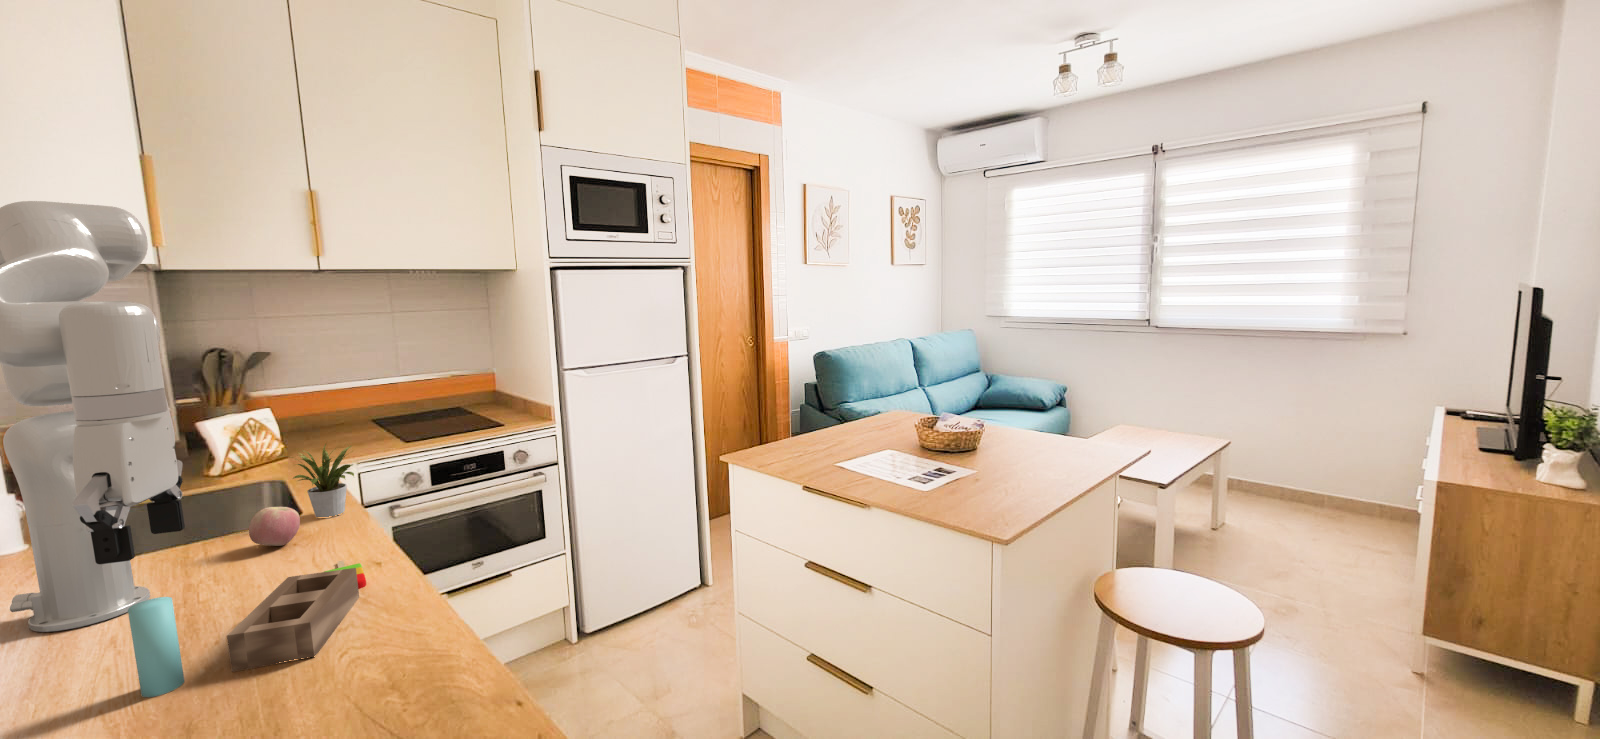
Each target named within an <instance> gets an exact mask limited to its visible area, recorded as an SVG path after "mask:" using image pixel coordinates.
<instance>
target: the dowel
mask: <svg viewBox="0 0 1600 739" xmlns="http://www.w3.org/2000/svg"><path fill="white" fill-rule="evenodd" d="M173 602H174V601H173V598H172V597H171V596H159V597H154V598H149V599H148V600H146V601H143V602H140V603H137V604H135V605H133V606H131V607H130V608H129V609H128V612H127V614H128V619H129V625H130V626H129V627H130V632H131V639H132V645H133V650H134V651H133V653H134V658H135V665H136V670H137V676H138V684H139V689H140V695H141V697H143V698H153V697H154V698H155V697H160V696H162V695H165V694H167V693H170V692H173V691H174V690H176V689H178V688H179V687H181V686H182V685H183V684H184V683H185V676H184V670H183V662H182V656H181V648H180V643H179V635H178V629H177V622H176V616H175V609H174V603H173Z"/></svg>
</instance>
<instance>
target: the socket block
mask: <svg viewBox="0 0 1600 739" xmlns="http://www.w3.org/2000/svg"><path fill="white" fill-rule="evenodd" d="M327 571H328V570H327ZM359 598H360V592H359V589H358V582H357V573H356V568H350V569H343V570H336V571H328V572H324V571H323V572H322V571H320V572H315V573H308V574H307V573H306V574H300V575H292V576H288V577H287V578H285V579H284V580H283V581H282V582H281V583H280V584H279V585H278V586H277V587H276V588H275V589H274V590H273V591H272V592H271V593H270V594H268V596H266V598H265V599H264V600H262V601H261V602H260V603H259V604H258V605H257V606H256V607H255V608H254V609H253V610H252V611H251V612H250V613H249V614H248V615H246V616H245V617H244V618H243V619H242V620H241V621H240V622H239V623H238V624H237V625H236V626H235V627H234V628H233V629H232V630H231V631H229V632H228V633H227V634H226V639H227V640H226V641H227V649H228V655H229V663H230V669H231V672H232V673H233V671H234V672H238V670H239V671H243V670H251V669H256V668H255V667H257V668H262V667H267V666H266V665H268V666H272V665H271V664H274V665H277V664H276V663H279V662H284V661H289V660H294V659H301V658H307V657H314V656H315V655H316V654H317V655H318V654H319V652H320V651H321V650H322V648H323V647H324V645H325V644H326V643H327V641H329V639H330V637H331V636H332V635H333V633H334V632H335V630H337V628H338V626H339V625H340V624H341V623H342V622H343V620H344V619H345V617H346V616H347V614H348V613H349V612H350V611H351V609H352V607H354V605H355V604H356V602H357V601H358V600H359ZM317 655H316V656H317ZM316 656H315V657H316ZM315 657H314V658H315Z"/></svg>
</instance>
